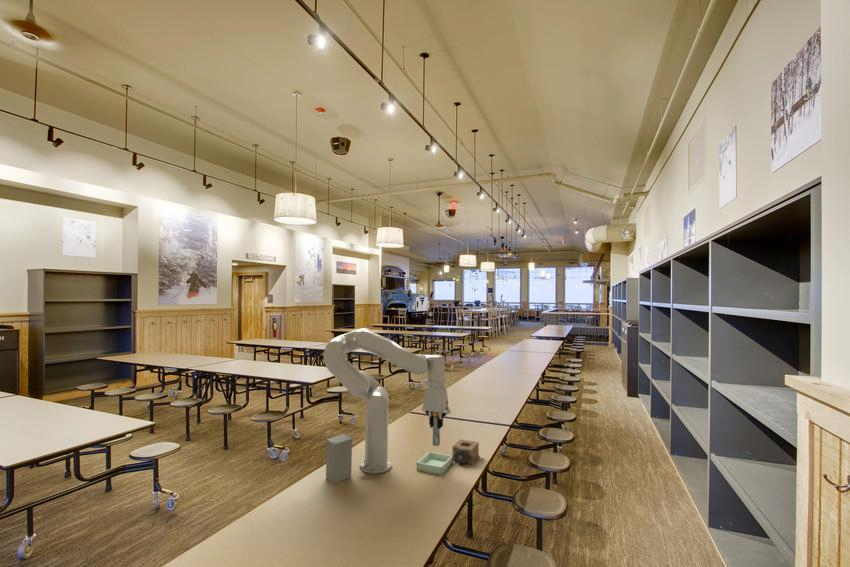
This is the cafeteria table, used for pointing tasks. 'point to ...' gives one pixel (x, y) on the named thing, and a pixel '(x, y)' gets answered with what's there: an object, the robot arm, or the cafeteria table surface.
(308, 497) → the cafeteria table surface
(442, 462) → the tray
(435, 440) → the lock pin
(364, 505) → the cafeteria table surface
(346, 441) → the skincare box
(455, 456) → the block
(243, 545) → the cafeteria table surface
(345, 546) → the cafeteria table surface
